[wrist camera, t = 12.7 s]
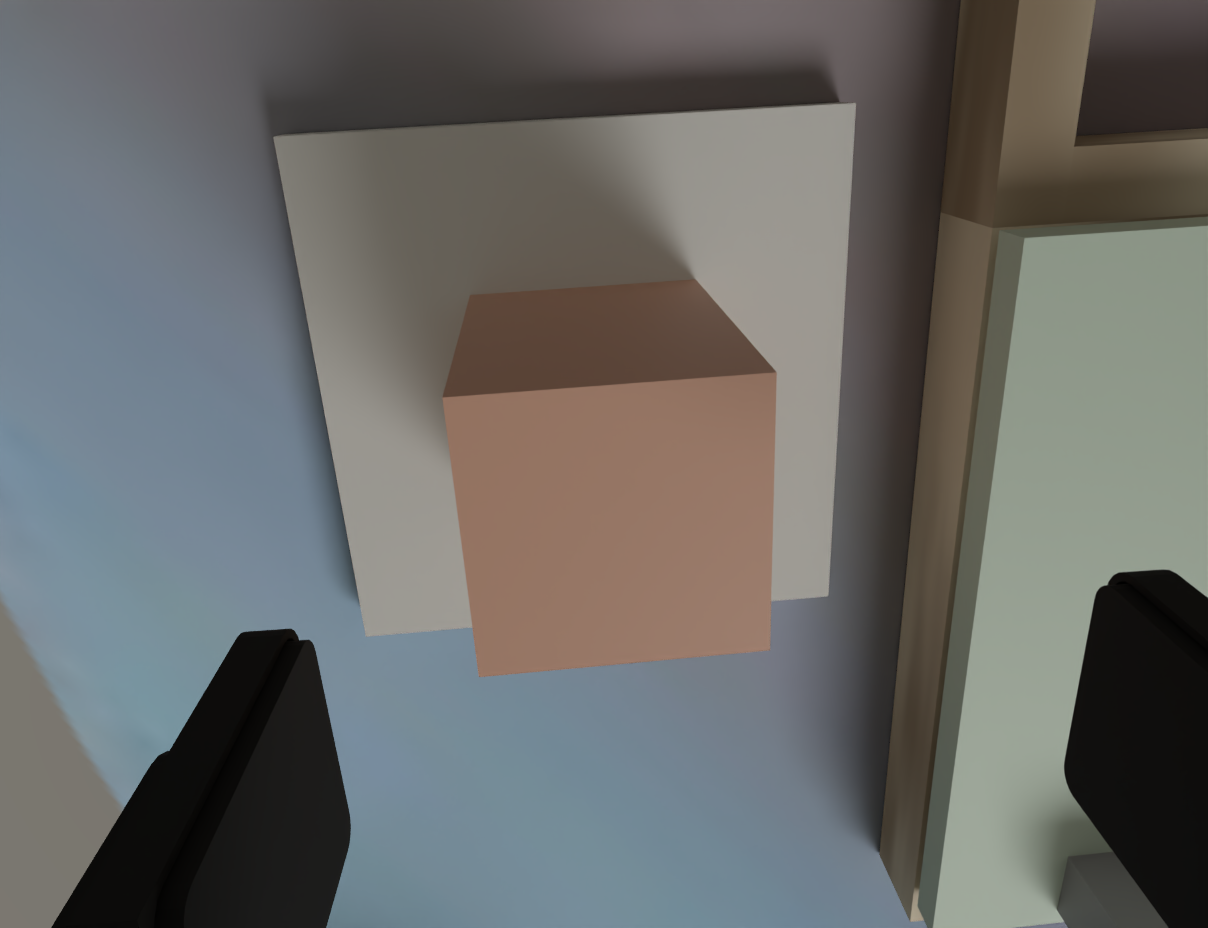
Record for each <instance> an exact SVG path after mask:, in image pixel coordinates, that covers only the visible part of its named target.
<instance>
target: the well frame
mask: <svg viewBox="0 0 1208 928" xmlns="http://www.w3.org/2000/svg"><path fill="white" fill-rule="evenodd" d="M1095 3H1096V0H961V3H960V14H959V24H958V35H957V45H956V56H955V66H954V77H953V87H952V98H951V108H950V119H949V129H948V140H947V150H946V161H945V171H944V182H943V192H942V203H941V213H940V224H939V234H938V245H937V255H936V266H935V276H934V287H933V297H932V308H931V318H930V329H929V339H928V350H927V360H926V371H925V381H924V392H923V402H922V413H921V423H920V434H919V444H918V455H917V465H916V476H915V486H914V497H913V507H912V518H911V528H910V539H909V549H908V560H907V570H906V581H905V591H904V602H903V612H902V623H901V633H900V644H899V654H898V665H897V675H896V686H895V696H894V707H893V717H892V728H891V738H890V749H889V759H888V770H887V780H886V790H885V801H884V811H883V822H882V832H881V843H880V853H879V855H880V857H881V859H882V861H883V864H884V866H885V868H886V870H887V872H888V875H889V877H890V879H891V881H892V883H893V885H894V888H895V890H896V892H897V894H898V896H899V899H900V901H901V903H902V905H903V907H904V909H905V912H906V914H907V916H908V918H909V920H910V922H913V921H923V920H924V919H923V917H922V915H921V913H920V911H919V909H918V906H917V904H918V896H919V888H920V879H921V871H922V863H923V855H924V846H925V838H926V830H927V822H928V813H929V805H930V797H931V789H932V781H933V772H934V764H935V756H936V748H937V739H938V731H939V723H940V715H941V706H942V698H943V690H944V682H945V674H946V665H947V657H948V649H949V641H950V632H951V624H952V616H953V608H954V599H955V591H956V583H957V575H958V567H959V558H960V550H961V542H962V534H963V525H964V517H965V509H966V501H967V492H968V484H969V476H970V468H971V460H972V451H973V443H974V435H975V427H976V418H977V410H978V402H979V394H980V385H981V377H982V369H983V361H984V353H985V344H986V336H987V328H988V320H989V311H990V303H991V295H992V287H993V278H994V270H995V262H996V254H997V246H998V237H999V230H1012V229H1027V228H1042V227H1057V226H1073V225H1088V224H1103V223H1118V222H1133V221H1148V220H1164V219H1179V218H1194V217H1208V128H1200V129H1183V130H1167V131H1150V132H1134V133H1117V134H1101V135H1084V136H1076V131H1077V124H1078V117H1079V110H1080V104H1081V97H1082V90H1083V84H1084V77H1085V70H1086V63H1087V57H1088V50H1089V43H1090V36H1091V30H1092V23H1093V16H1094V9H1095Z"/></svg>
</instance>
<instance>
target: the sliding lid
mask: <svg viewBox="0 0 1208 928" xmlns="http://www.w3.org/2000/svg"><path fill="white" fill-rule="evenodd" d="M1161 569H1164V570H1171V571H1173V572H1175V573H1177V574H1178V575H1179V576H1181V577H1182V578H1183V579H1184V580H1186V581H1187V582H1188V583H1190V584H1191V585H1192V586H1193V587H1195V588H1196V589H1197V590H1199V591H1200V592H1201V593H1202V594H1204V595H1205V596H1206V597H1208V217H1194V218H1179V219H1164V220H1148V221H1133V222H1118V223H1103V224H1088V225H1073V226H1057V227H1042V228H1027V229H1012V230H999V237H998V246H997V254H996V262H995V270H994V278H993V287H992V295H991V303H990V311H989V320H988V328H987V336H986V344H985V353H984V361H983V369H982V377H981V385H980V394H979V402H978V410H977V418H976V427H975V435H974V443H973V451H972V460H971V468H970V476H969V484H968V492H967V501H966V509H965V517H964V525H963V534H962V542H961V550H960V558H959V567H958V575H957V583H956V591H955V599H954V608H953V616H952V624H951V632H950V641H949V649H948V657H947V665H946V674H945V682H944V690H943V698H942V706H941V715H940V723H939V731H938V739H937V748H936V756H935V764H934V772H933V781H932V789H931V797H930V805H929V813H928V822H927V830H926V838H925V846H924V855H923V863H922V871H921V879H920V888H919V896H918V904H917V906H918V909H919V911H920V913H921V915H922V917H923V919H924V921H925V923H926V925H927V927H928V928H1014V927H1023V926H1032V925H1042V924H1051V923H1060V922H1065V924H1066V925H1067V927H1068V928H1168V926H1167V925H1166V924H1165V922H1164V921H1163V919H1162V918H1161V917H1160V915H1159V914H1158V913H1157V911H1156V910H1155V908H1154V907H1153V906H1152V904H1151V903H1150V902H1149V900H1148V899H1147V897H1146V896H1145V895H1144V893H1143V892H1142V891H1141V889H1140V888H1139V886H1138V885H1137V884H1136V882H1135V881H1134V880H1133V878H1132V877H1131V876H1130V874H1129V873H1128V871H1127V870H1126V869H1125V867H1124V866H1123V865H1122V863H1121V862H1120V860H1119V859H1118V858H1117V856H1116V855H1115V854H1114V852H1113V851H1112V849H1111V848H1110V847H1109V845H1108V844H1107V843H1106V841H1105V840H1104V838H1103V837H1102V836H1101V834H1100V833H1099V832H1098V830H1097V829H1096V827H1095V826H1094V825H1093V823H1092V822H1091V821H1090V819H1089V818H1088V816H1087V815H1086V814H1085V812H1084V811H1083V810H1082V808H1081V807H1080V805H1079V804H1078V803H1077V801H1076V800H1075V799H1074V797H1073V796H1072V794H1071V792H1070V790H1069V788H1068V785H1067V783H1066V779H1065V774H1064V760H1065V755H1066V749H1067V744H1068V739H1069V733H1070V728H1071V722H1072V717H1073V712H1074V706H1075V701H1076V696H1077V690H1078V685H1079V679H1080V674H1081V669H1082V663H1083V658H1084V652H1085V647H1086V642H1087V636H1088V631H1089V626H1090V620H1091V615H1092V609H1093V604H1094V599H1095V595H1096V592H1097V591H1098V589H1099V588H1100V587H1102V586H1104V585H1108V582H1109V580H1110V579H1111V578H1112V576H1113V575H1115V574H1117V573H1119V572H1132V571H1147V570H1161Z"/></svg>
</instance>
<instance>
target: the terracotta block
mask: <svg viewBox="0 0 1208 928" xmlns="http://www.w3.org/2000/svg"><path fill="white" fill-rule="evenodd" d="M776 383H777V372H776V371H775V370H774V369H773V367H772V366H771V365H770V364H769V363H768V362H767V361H766V359H765V358H764V357H763V356H762V355H761V354H760V353H759V351H758V350H757V349H756V348H755V347H754V346H753V344H752V343H751V342H750V341H749V340H748V339H747V338H746V336H745V335H744V334H743V333H742V332H741V331H740V330H739V328H738V327H737V326H736V325H735V324H734V323H733V322H732V320H731V319H730V318H729V317H728V316H727V315H726V313H725V312H724V311H723V310H722V309H721V308H720V307H719V305H718V304H717V303H716V302H715V301H714V300H713V299H712V297H711V296H710V295H709V294H708V293H707V292H706V291H705V289H704V288H703V287H702V286H701V285H700V284H699V283H698V281H697V280H696V279H693V280H679V281H664V282H650V283H636V284H621V285H607V286H592V287H578V288H564V289H549V290H535V291H521V292H506V293H492V294H478V295H470V297H469V301H468V304H467V308H466V312H465V316H464V319H463V323H462V327H461V330H460V334H459V338H458V341H457V345H456V349H455V352H454V356H453V360H452V364H451V367H450V371H449V375H448V378H447V382H446V386H445V389H444V393H443V397H442V399H443V407H444V414H445V422H446V430H447V437H448V445H449V452H450V460H451V468H452V475H453V483H454V490H455V498H456V506H457V513H458V521H459V529H460V536H461V544H462V551H463V559H464V567H465V574H466V582H467V589H468V597H469V605H470V612H471V620H472V627H473V635H474V643H475V650H476V658H477V666H478V673H479V677H485V676H496V675H507V674H518V673H528V672H539V671H550V670H561V669H572V668H583V667H594V666H604V665H615V664H626V663H637V662H648V661H659V660H670V659H680V658H691V657H702V656H713V655H724V654H735V653H746V652H756V651H767V650H770V627H771V586H772V545H773V505H774V464H775V424H776Z"/></svg>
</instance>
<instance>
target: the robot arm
mask: <svg viewBox="0 0 1208 928" xmlns="http://www.w3.org/2000/svg"><path fill="white" fill-rule="evenodd" d="M1064 774H1065V779H1066V783H1067V785H1068V788H1069V790H1070V792H1071V794H1072V796H1073V797H1074V799H1075V800H1076V801H1077V803H1078V804H1079V805H1080V807H1081V808H1082V810H1083V811H1084V812H1085V814H1086V815H1087V816H1088V818H1089V819H1090V821H1091V822H1092V823H1093V825H1094V826H1095V827H1096V829H1097V830H1098V832H1099V833H1100V834H1101V836H1102V837H1103V838H1104V840H1105V841H1106V843H1107V844H1108V845H1109V847H1110V848H1111V849H1112V851H1113V852H1114V854H1115V855H1116V856H1117V858H1118V859H1119V860H1120V862H1121V863H1122V865H1123V866H1124V867H1125V869H1126V870H1127V871H1128V873H1129V874H1130V876H1131V877H1132V878H1133V880H1134V881H1135V882H1136V884H1137V885H1138V886H1139V888H1140V889H1141V891H1142V892H1143V893H1144V895H1145V896H1146V897H1147V899H1148V900H1149V902H1150V903H1151V904H1152V906H1153V907H1154V908H1155V910H1156V911H1157V913H1158V914H1159V915H1160V917H1161V918H1162V919H1163V921H1164V922H1165V924H1166V925H1167V926H1168V928H1208V597H1206V596H1205V595H1204V594H1202V593H1201V592H1200V591H1199V590H1197V589H1196V588H1195V587H1193V586H1192V585H1191V584H1190V583H1188V582H1187V581H1186V580H1184V579H1183V578H1182V577H1181V576H1179V575H1178V574H1177V573H1175V572H1173V571H1171V570H1164V569H1161V570H1147V571H1132V572H1119V573H1117V574H1115V575H1113V576H1112V578H1111V579H1110V580H1109V582H1108V585H1104V586H1102V587H1100V588H1099V589H1098V591H1097V592H1096V595H1095V599H1094V604H1093V609H1092V615H1091V620H1090V626H1089V631H1088V636H1087V642H1086V647H1085V652H1084V658H1083V663H1082V669H1081V674H1080V679H1079V685H1078V690H1077V696H1076V701H1075V706H1074V712H1073V717H1072V722H1071V728H1070V733H1069V739H1068V744H1067V749H1066V755H1065V760H1064ZM350 831H351V824H350V814H349V809H348V804H347V799H346V794H345V790H344V785H343V780H342V775H341V771H340V766H339V761H338V756H337V751H336V747H335V742H334V737H333V732H332V728H331V723H330V718H329V713H328V709H327V704H326V699H325V694H324V689H323V685H322V680H321V675H320V670H319V666H318V661H317V656H316V651H315V648H314V645H313V643H312V642H311V641H310V640H299V639H298V636H297V634H296V632H295V631H294V630H292V629H279V630H265V631H250V632H243V633H241V634H240V635H239V636H238V637H237V639H236V640H235V642H234V644H233V645H232V647H231V649H230V650H229V652H228V654H227V655H226V657H225V659H224V660H223V662H222V664H221V665H220V667H219V669H218V670H217V672H216V674H215V676H214V677H213V679H212V681H211V682H210V684H209V686H208V687H207V689H206V691H205V692H204V694H203V696H202V697H201V699H200V701H199V702H198V704H197V706H196V707H195V709H194V711H193V712H192V714H191V716H190V717H189V719H188V721H187V722H186V724H185V726H184V727H183V729H182V731H181V732H180V734H179V736H178V738H177V739H176V741H175V743H174V744H173V746H172V748H171V749H170V751H167V752H165V753H163V754H161V755H159V756H158V757H157V758H156V759H155V761H154V762H153V763H152V764H151V766H150V767H149V769H148V770H147V772H146V774H145V775H144V777H143V779H142V780H141V782H140V783H139V785H138V787H137V788H136V790H135V792H134V793H133V795H132V797H131V798H130V800H129V801H128V803H127V805H126V806H125V808H124V810H123V811H122V813H121V815H120V816H119V818H118V819H117V821H116V823H115V824H114V826H113V828H112V829H111V831H110V833H109V834H108V836H107V837H106V839H105V841H104V843H103V844H102V846H101V847H100V849H99V851H98V852H97V854H96V855H95V857H94V859H93V860H92V862H91V864H90V865H89V867H88V868H87V870H86V872H85V873H84V875H83V877H82V878H81V880H80V882H79V883H78V885H77V886H76V888H75V890H74V891H73V893H72V895H71V896H70V898H69V900H68V901H67V903H66V904H65V906H64V908H63V909H62V911H61V913H60V914H59V916H58V918H57V919H56V921H55V922H54V924H53V926H52V928H326V926H327V923H328V919H329V916H330V912H331V908H332V905H333V901H334V898H335V894H336V891H337V887H338V884H339V880H340V877H341V873H342V869H343V866H344V862H345V859H346V855H347V852H348V848H349V843H350Z"/></svg>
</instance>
